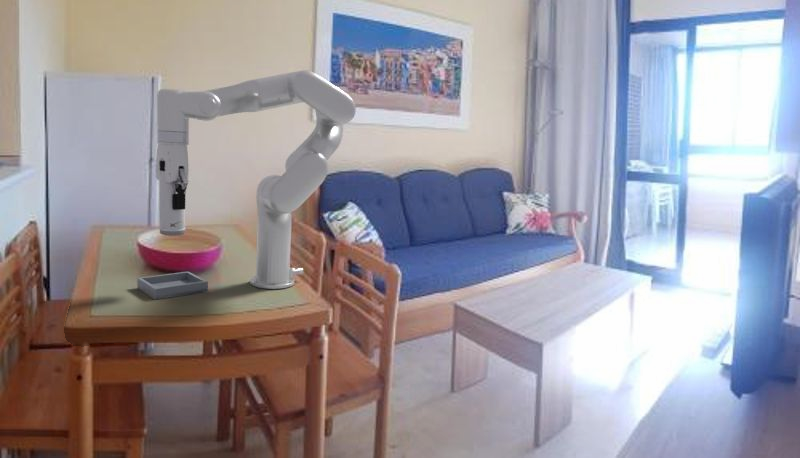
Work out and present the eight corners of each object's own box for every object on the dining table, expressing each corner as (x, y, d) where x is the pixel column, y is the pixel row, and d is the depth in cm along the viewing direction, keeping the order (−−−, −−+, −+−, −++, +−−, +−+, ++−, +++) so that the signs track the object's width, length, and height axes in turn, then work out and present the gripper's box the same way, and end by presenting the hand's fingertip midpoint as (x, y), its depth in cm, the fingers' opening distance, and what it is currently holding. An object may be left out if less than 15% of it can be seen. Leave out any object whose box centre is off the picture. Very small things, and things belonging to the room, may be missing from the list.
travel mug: (177, 236, 145) (177, 159, 142) (154, 234, 147) (154, 157, 143) (191, 232, 151) (191, 158, 148) (169, 230, 153) (168, 156, 149)
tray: (188, 280, 161) (188, 271, 160) (207, 291, 152) (207, 281, 152) (137, 288, 151) (137, 277, 150) (155, 299, 143) (155, 289, 142)
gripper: (145, 135, 148) (145, 203, 151) (172, 140, 136) (172, 213, 139) (173, 137, 153) (173, 202, 156) (202, 141, 141) (201, 211, 144)
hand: (173, 206), depth 148 cm, fingers closed on travel mug, 6 cm apart
